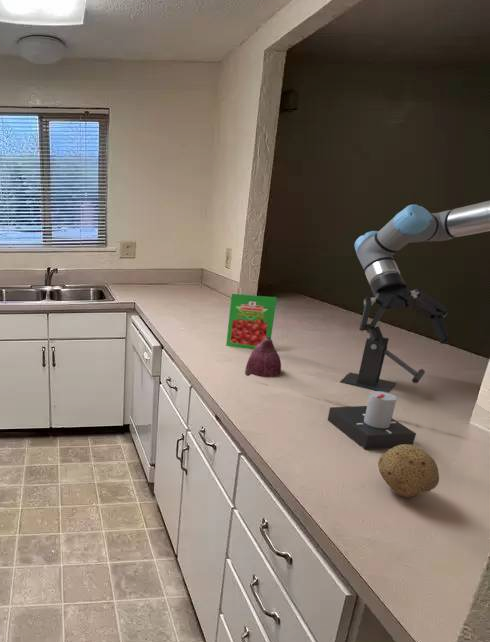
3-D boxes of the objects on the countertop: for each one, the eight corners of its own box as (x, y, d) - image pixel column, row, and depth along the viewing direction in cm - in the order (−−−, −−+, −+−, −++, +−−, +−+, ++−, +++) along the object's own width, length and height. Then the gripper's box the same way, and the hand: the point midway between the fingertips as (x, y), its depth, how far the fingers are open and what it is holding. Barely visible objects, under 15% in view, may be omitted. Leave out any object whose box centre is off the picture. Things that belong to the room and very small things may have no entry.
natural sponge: (360, 482, 84) (371, 437, 81) (398, 475, 86) (410, 431, 83) (402, 512, 76) (416, 463, 73) (442, 504, 78) (458, 456, 74)
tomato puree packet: (225, 346, 165) (231, 293, 158) (226, 345, 166) (232, 293, 159) (268, 351, 158) (276, 297, 151) (269, 350, 159) (276, 297, 152)
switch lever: (420, 376, 121) (427, 370, 120) (414, 385, 115) (421, 379, 114) (372, 340, 127) (379, 334, 126) (364, 347, 121) (371, 341, 120)
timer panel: (412, 447, 96) (416, 432, 95) (364, 449, 95) (368, 434, 94) (369, 418, 109) (372, 404, 108) (327, 419, 108) (330, 406, 107)
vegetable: (274, 391, 133) (287, 351, 124) (240, 381, 137) (250, 342, 128) (281, 373, 140) (293, 334, 131) (248, 364, 144) (258, 325, 135)
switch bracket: (394, 387, 127) (407, 338, 122) (386, 397, 120) (399, 347, 115) (349, 376, 135) (358, 330, 130) (338, 385, 128) (348, 338, 123)
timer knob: (370, 416, 102) (377, 388, 100) (393, 424, 98) (401, 395, 96) (359, 422, 100) (366, 393, 97) (383, 430, 96) (390, 401, 93)
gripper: (431, 278, 121) (464, 344, 111) (333, 296, 127) (356, 360, 118) (442, 261, 115) (478, 329, 105) (338, 281, 121) (363, 347, 111)
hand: (414, 345), depth 111 cm, fingers open, 13 cm apart
